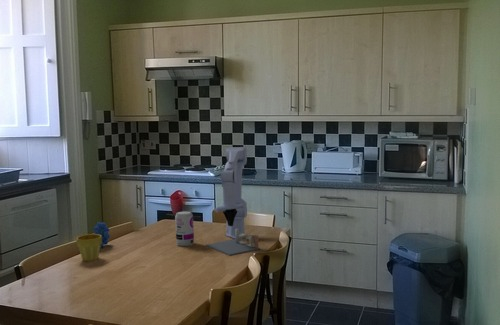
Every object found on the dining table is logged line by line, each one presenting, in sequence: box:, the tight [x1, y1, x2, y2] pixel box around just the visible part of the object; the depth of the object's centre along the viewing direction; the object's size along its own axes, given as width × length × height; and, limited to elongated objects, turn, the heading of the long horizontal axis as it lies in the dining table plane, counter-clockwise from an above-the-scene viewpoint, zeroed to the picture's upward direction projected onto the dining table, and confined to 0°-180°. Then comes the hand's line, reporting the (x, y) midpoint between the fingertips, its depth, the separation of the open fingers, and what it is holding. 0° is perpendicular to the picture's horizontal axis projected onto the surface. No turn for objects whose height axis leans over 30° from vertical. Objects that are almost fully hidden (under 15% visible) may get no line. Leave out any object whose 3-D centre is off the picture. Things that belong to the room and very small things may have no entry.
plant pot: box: [75, 233, 102, 262], centre depth 224 cm, size 10×10×10 cm
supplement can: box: [174, 210, 195, 247], centre depth 243 cm, size 8×8×15 cm
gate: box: [238, 233, 255, 247], centre depth 235 cm, size 11×1×4 cm, turn 36°
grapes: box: [92, 221, 111, 248], centre depth 243 cm, size 12×7×12 cm, turn 160°
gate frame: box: [205, 229, 261, 256], centre depth 235 cm, size 21×16×7 cm
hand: (230, 225), depth 238 cm, fingers closed
